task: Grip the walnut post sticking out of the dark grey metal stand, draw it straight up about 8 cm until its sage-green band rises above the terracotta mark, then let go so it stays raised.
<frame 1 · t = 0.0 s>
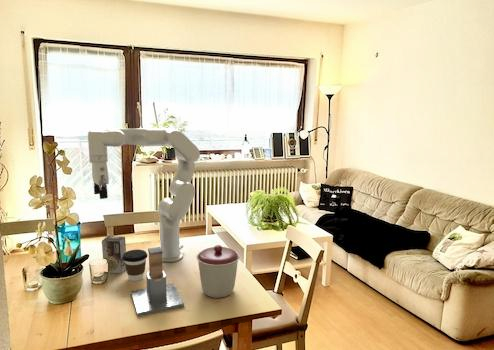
hand: (100, 196, 173), 37 cm above the table, tool pointing down, fingers open, 9 cm apart
coffee cup: (136, 278, 176), on the table
coffee box: (115, 270, 183), on the table
post: (156, 273, 154), point 12 cm above the table, slide at 0.0 cm
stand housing: (156, 300, 157), on the table
canister: (218, 292, 164), on the table
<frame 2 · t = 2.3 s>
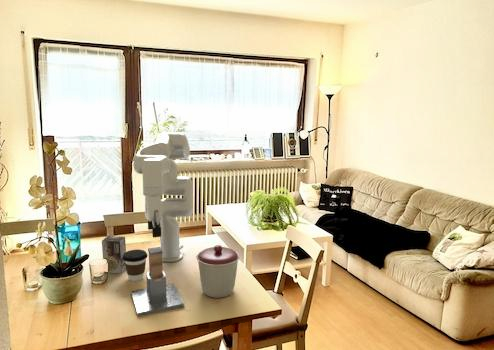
hand: (154, 232, 151), 29 cm above the table, tool pointing down, fingers open, 9 cm apart
nothing on the table moved.
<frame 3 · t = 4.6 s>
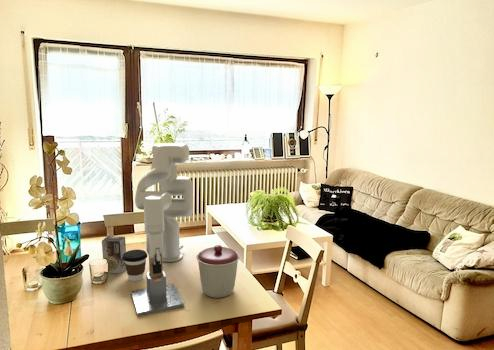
hand: (155, 270, 154), 13 cm above the table, tool pointing down, fingers closed on post, 4 cm apart
post: (156, 273, 154), point 12 cm above the table, slide at 0.0 cm, touching gripper
everything else where it was.
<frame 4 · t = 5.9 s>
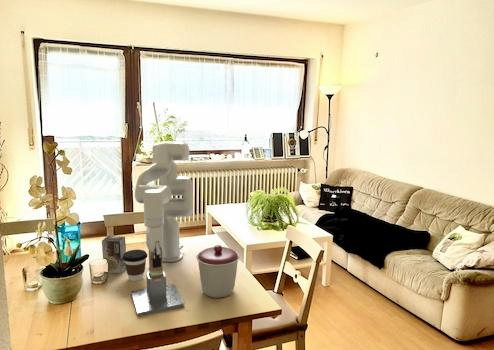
hand: (155, 264, 153), 16 cm above the table, tool pointing down, fingers closed on post, 4 cm apart
post: (155, 267, 154), point 15 cm above the table, slide at 2.6 cm, touching gripper
everything else where it was.
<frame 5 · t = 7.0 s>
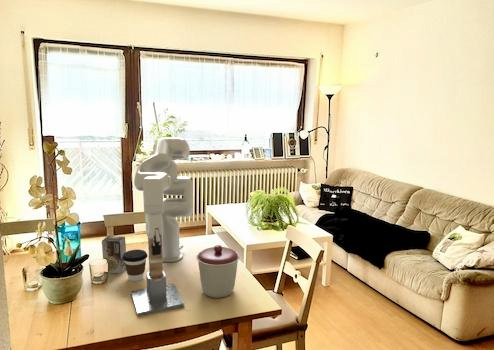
hand: (155, 251, 152), 21 cm above the table, tool pointing down, fingers closed on post, 4 cm apart
post: (155, 254, 153), point 20 cm above the table, slide at 7.8 cm, touching gripper
everything else where it was.
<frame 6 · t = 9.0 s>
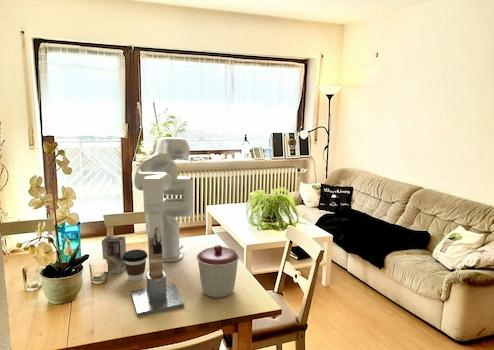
hand: (155, 249, 152), 22 cm above the table, tool pointing down, fingers open, 9 cm apart
post: (155, 254, 153), point 20 cm above the table, slide at 8.0 cm
everything else where it was.
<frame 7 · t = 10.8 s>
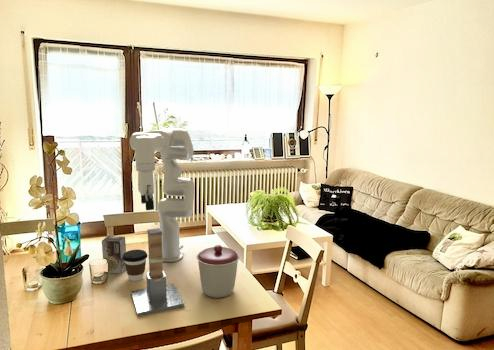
hand: (147, 206, 160), 37 cm above the table, tool pointing down, fingers open, 9 cm apart
nothing on the table moved.
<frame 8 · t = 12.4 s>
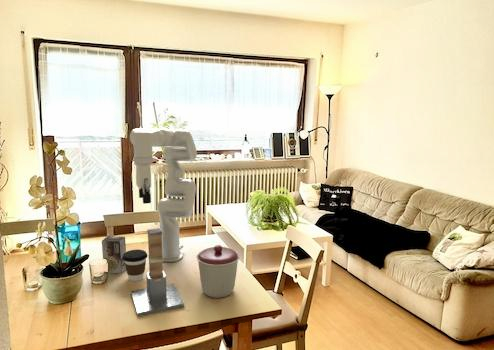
hand: (144, 200, 163), 38 cm above the table, tool pointing down, fingers open, 9 cm apart
nothing on the table moved.
at the end: post slide at 8.0 cm; the gripper is holding nothing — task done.
